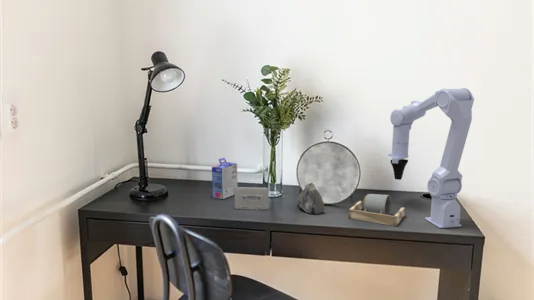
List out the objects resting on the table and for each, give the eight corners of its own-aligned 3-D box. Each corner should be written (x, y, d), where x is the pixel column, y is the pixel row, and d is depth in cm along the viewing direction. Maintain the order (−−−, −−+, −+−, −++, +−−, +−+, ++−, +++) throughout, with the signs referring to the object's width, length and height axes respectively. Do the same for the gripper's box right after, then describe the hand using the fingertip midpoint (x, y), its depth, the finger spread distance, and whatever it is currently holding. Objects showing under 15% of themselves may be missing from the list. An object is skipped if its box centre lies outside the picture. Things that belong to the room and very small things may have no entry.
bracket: (359, 208, 178) (359, 200, 178) (404, 215, 171) (404, 207, 171) (348, 218, 168) (348, 209, 167) (396, 226, 161) (396, 217, 160)
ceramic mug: (368, 210, 177) (369, 189, 175) (391, 214, 173) (392, 192, 171) (358, 219, 168) (359, 197, 166) (382, 223, 164) (383, 201, 162)
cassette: (268, 208, 178) (268, 187, 177) (268, 209, 176) (268, 188, 175) (234, 207, 178) (234, 186, 177) (234, 209, 176) (234, 188, 175)
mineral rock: (298, 202, 185) (298, 176, 183) (327, 204, 183) (328, 178, 181) (292, 213, 173) (293, 185, 171) (323, 215, 170) (324, 187, 169)
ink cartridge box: (227, 191, 199) (226, 155, 196) (238, 193, 196) (238, 157, 193) (211, 197, 190) (211, 160, 188) (222, 199, 187) (222, 162, 185)
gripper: (394, 138, 189) (392, 173, 191) (384, 144, 176) (382, 182, 179) (413, 140, 186) (410, 176, 188) (404, 146, 173) (402, 184, 176)
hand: (398, 179), depth 183 cm, fingers closed
